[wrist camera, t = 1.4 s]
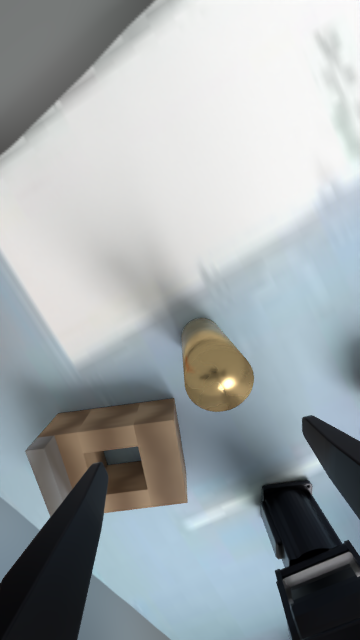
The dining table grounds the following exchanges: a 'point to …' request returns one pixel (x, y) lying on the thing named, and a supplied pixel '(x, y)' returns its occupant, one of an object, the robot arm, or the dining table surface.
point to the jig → (108, 434)
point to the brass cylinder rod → (214, 367)
